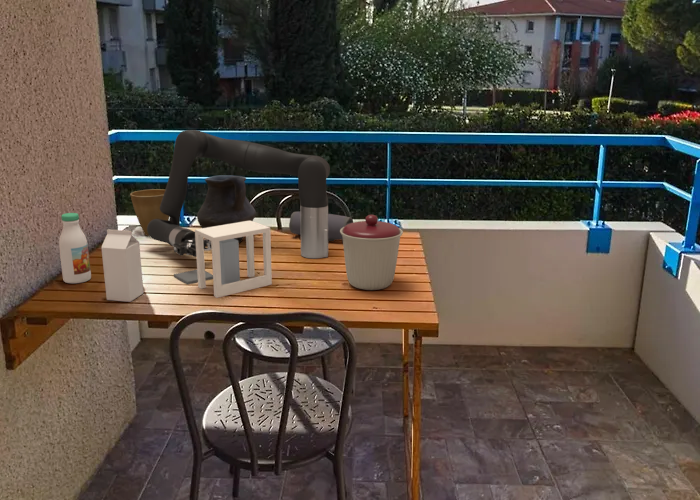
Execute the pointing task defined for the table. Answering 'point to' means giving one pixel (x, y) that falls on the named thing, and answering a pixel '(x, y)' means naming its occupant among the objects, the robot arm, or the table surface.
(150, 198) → the plant pot
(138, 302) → the table surface
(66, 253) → the milk bottle
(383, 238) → the canister
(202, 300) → the table surface
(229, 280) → the blank
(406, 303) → the table surface
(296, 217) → the bluetooth speaker
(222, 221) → the pitcher
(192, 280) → the mat
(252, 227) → the rack
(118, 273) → the milk carton
